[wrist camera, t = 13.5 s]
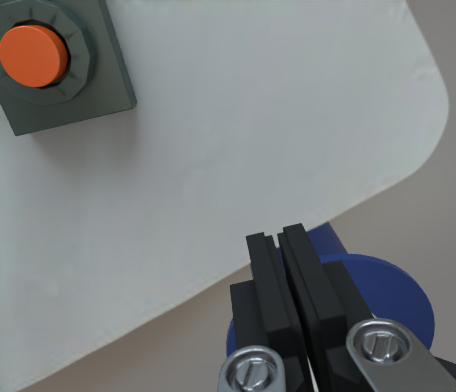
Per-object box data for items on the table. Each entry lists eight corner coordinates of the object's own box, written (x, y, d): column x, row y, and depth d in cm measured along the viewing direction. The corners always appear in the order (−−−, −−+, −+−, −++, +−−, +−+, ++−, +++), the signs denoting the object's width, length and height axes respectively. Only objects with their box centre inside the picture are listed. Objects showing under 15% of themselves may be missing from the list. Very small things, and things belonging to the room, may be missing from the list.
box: (137, 102, 32) (129, 114, 28) (26, 128, 32) (4, 143, 28) (91, -43, 28) (75, -50, 24) (-36, -11, 28) (-71, -14, 24)
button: (76, 76, 27) (68, 80, 26) (24, 88, 27) (14, 93, 26) (55, 18, 26) (45, 19, 24) (0, 32, 26) (-13, 33, 24)
